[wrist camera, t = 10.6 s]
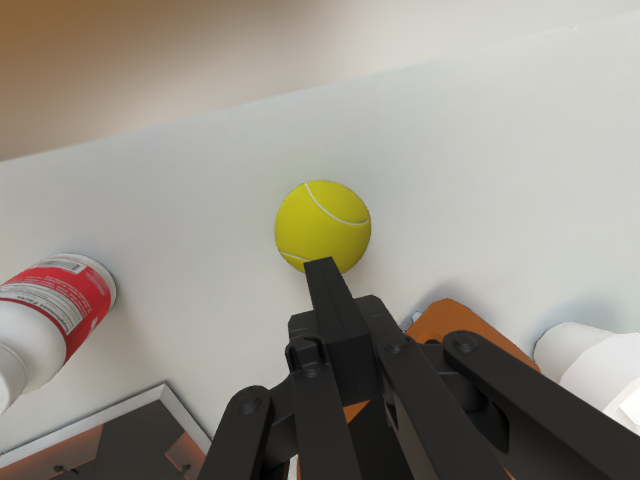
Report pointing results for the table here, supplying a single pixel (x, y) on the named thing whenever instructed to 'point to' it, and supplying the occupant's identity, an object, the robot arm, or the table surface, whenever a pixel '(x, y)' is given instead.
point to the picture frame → (117, 445)
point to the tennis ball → (322, 225)
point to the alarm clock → (370, 416)
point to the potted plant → (595, 368)
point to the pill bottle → (48, 319)
